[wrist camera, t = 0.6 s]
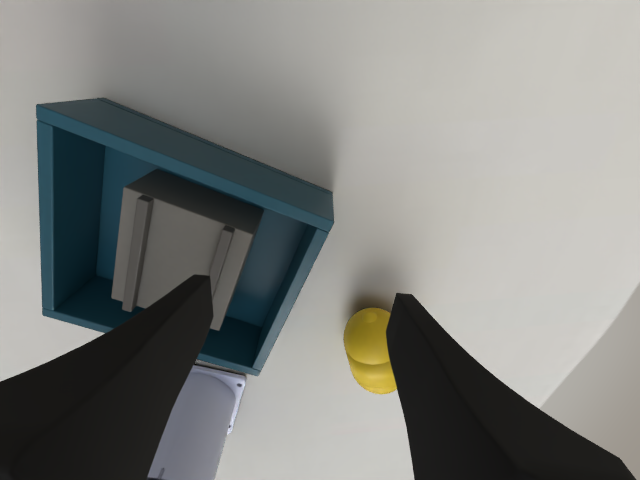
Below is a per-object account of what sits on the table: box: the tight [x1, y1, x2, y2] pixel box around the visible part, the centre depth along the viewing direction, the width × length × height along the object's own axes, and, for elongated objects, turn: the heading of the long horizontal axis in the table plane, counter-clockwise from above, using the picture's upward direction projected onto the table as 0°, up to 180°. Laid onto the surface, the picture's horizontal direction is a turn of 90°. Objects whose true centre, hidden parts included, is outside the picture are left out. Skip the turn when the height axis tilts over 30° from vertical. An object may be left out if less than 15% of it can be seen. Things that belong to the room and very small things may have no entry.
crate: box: [36, 98, 334, 376], centre depth 19 cm, size 13×14×5 cm
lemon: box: [344, 308, 397, 394], centre depth 23 cm, size 8×5×5 cm, turn 13°
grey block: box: [111, 169, 264, 331], centre depth 19 cm, size 8×7×4 cm
